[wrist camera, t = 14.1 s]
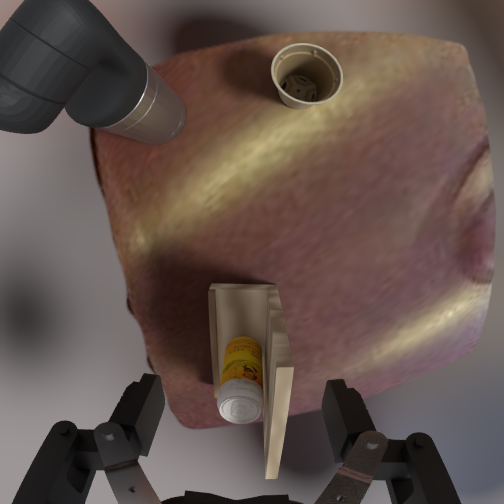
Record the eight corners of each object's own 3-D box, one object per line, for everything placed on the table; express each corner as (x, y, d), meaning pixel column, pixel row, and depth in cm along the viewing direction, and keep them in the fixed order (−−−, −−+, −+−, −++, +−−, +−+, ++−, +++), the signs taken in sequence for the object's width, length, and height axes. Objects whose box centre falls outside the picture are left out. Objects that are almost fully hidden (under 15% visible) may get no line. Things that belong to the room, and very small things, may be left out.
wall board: (216, 385, 51) (202, 476, 30) (211, 283, 46) (180, 363, 24) (270, 387, 51) (276, 478, 30) (276, 284, 46) (293, 367, 24)
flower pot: (265, 65, 37) (268, 41, 29) (324, 67, 37) (338, 45, 29) (269, 119, 39) (273, 104, 31) (329, 119, 39) (346, 106, 31)
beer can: (266, 339, 46) (271, 400, 31) (255, 366, 47) (255, 429, 32) (231, 329, 45) (222, 389, 31) (221, 357, 47) (211, 419, 32)
